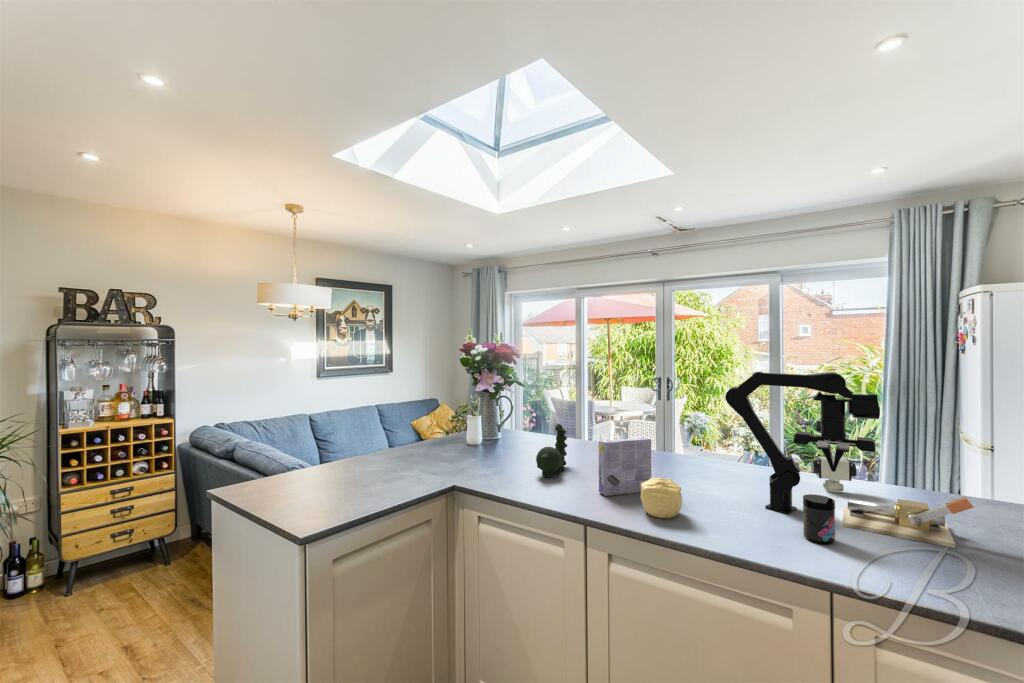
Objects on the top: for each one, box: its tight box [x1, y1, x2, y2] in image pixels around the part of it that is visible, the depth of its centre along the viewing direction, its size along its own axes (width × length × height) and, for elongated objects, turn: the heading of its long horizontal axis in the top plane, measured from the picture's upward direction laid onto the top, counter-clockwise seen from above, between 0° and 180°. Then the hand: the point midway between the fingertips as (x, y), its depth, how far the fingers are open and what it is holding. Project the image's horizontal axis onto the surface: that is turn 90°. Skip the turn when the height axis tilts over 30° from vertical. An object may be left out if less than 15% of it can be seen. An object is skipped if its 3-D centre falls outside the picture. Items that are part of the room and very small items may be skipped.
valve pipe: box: [847, 498, 946, 532], centre depth 124 cm, size 20×5×6 cm, turn 52°
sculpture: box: [640, 476, 683, 519], centre depth 133 cm, size 12×12×11 cm
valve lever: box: [907, 496, 975, 526], centre depth 115 cm, size 3×2×14 cm
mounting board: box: [842, 506, 956, 549], centre depth 122 cm, size 22×15×1 cm
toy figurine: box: [535, 423, 568, 479], centre depth 176 cm, size 9×19×25 cm
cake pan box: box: [598, 437, 652, 497], centre depth 153 cm, size 19×5×18 cm, turn 108°
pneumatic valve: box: [810, 454, 857, 494], centre depth 151 cm, size 6×12×12 cm, turn 68°
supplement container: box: [802, 493, 836, 546], centre depth 115 cm, size 7×7×10 cm
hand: (833, 471), depth 130 cm, fingers closed
